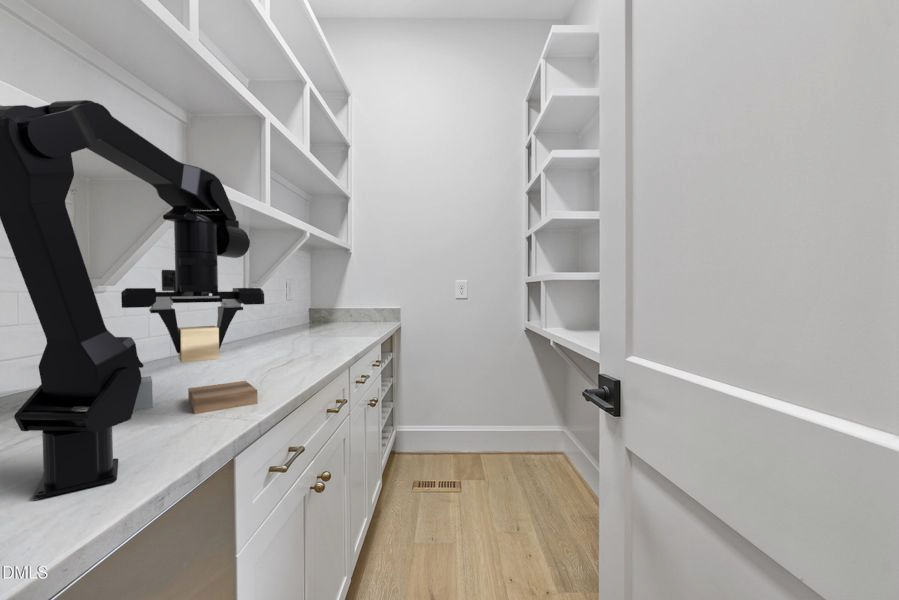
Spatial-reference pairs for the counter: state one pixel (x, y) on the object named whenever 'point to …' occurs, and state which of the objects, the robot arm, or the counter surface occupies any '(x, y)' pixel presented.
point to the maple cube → (198, 343)
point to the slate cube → (144, 394)
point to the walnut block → (221, 396)
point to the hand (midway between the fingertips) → (198, 351)
